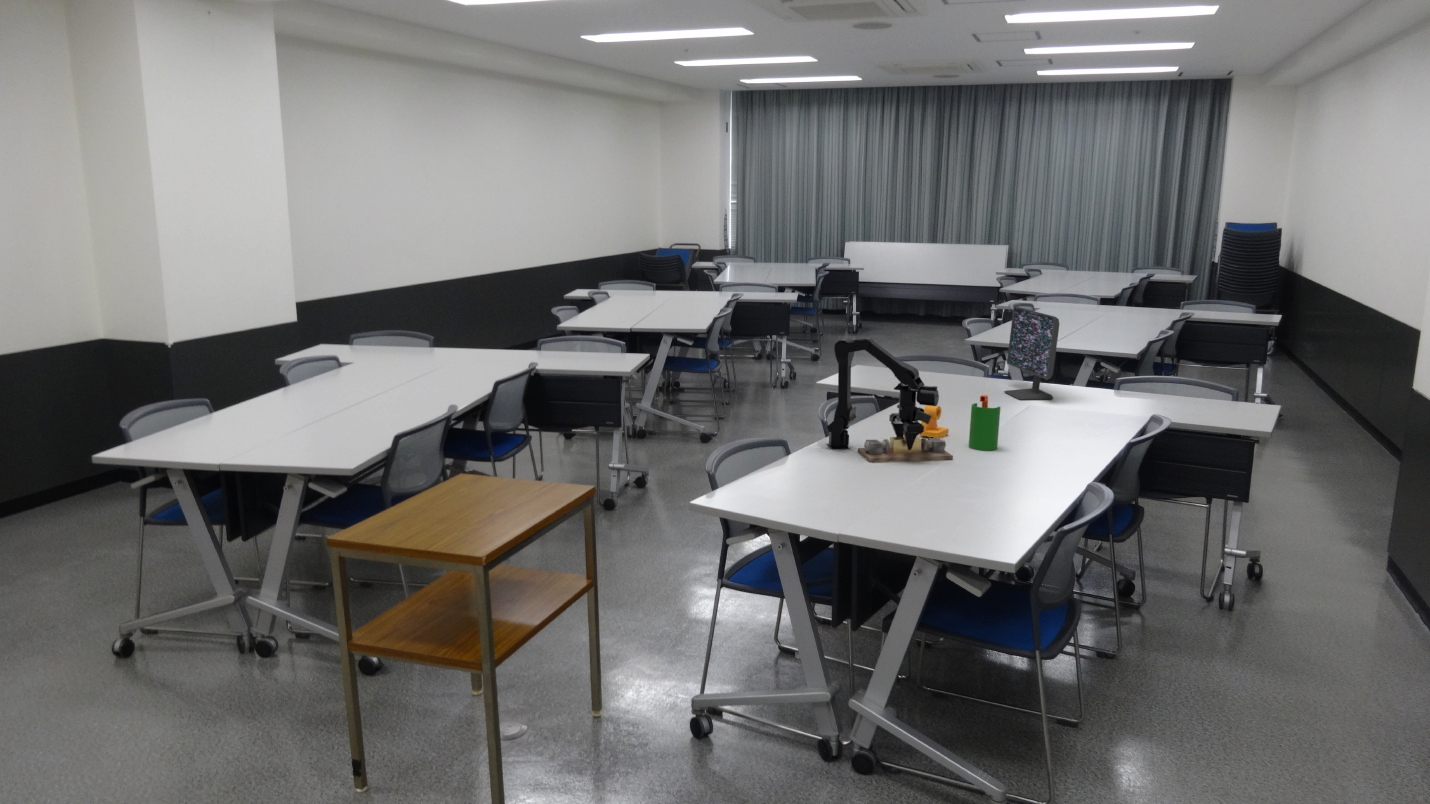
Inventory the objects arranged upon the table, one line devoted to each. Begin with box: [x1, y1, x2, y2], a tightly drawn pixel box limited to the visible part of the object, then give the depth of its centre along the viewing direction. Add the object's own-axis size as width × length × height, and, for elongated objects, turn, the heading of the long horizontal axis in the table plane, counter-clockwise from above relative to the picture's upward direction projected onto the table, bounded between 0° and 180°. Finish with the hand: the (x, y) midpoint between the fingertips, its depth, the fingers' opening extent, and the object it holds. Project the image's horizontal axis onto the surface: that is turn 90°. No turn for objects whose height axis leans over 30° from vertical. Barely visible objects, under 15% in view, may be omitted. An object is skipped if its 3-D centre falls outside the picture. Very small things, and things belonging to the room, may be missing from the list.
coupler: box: [889, 436, 922, 454], centre depth 335 cm, size 10×4×5 cm, turn 99°
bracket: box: [919, 405, 950, 439], centre depth 364 cm, size 11×7×12 cm, turn 142°
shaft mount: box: [857, 437, 954, 463], centre depth 335 cm, size 30×14×6 cm, turn 99°
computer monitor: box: [1003, 305, 1060, 401], centre depth 440 cm, size 44×16×40 cm, turn 6°
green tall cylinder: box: [968, 394, 1001, 451], centre depth 347 cm, size 10×9×20 cm
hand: (905, 446), depth 335 cm, fingers open, 9 cm apart
